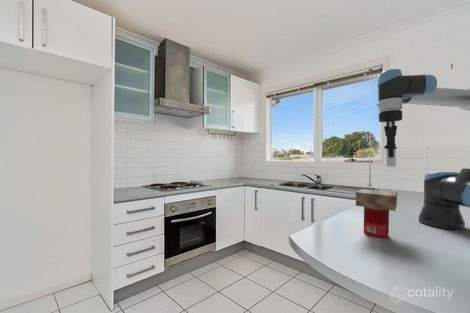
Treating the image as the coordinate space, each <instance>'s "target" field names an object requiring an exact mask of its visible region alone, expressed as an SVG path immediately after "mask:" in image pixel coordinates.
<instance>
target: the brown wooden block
mask: <svg viewBox="0 0 470 313" xmlns="http://www.w3.org/2000/svg"><path fill="white" fill-rule="evenodd" d="M397 203H398V192H394V191H387V190H386V191H385V190H376V189H365V188H361V189H359V190H358V191H355V206H358V207H363V208H364V207H370V208H378V209H385V210H389V211H394V212H396V208H397V205H398V204H397Z"/></svg>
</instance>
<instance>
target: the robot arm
mask: <svg viewBox="0 0 470 313" xmlns="http://www.w3.org/2000/svg"><path fill="white" fill-rule="evenodd" d="M437 86H438V80H437V77H436V76H435V75H433V74H424V73H423V74H415V75H414V74H413V75H412V74H411V75H403V72H402V70H401V69H398V68H391V69H386V70H384V71H382V72H380V73H379V74H378V79H377V89H378V90H377V94H378V95H377V96H378V103H377V104H376V107H378V112H379V113H378V122H379V123H385V125H384V134H385V137H386V145H384V150H385V151H386V167H390V168H392V167H393V168H395V167H397V161H396V160H397V159H396V158H397V156H396V150H397V146H396V145H397V144H396V136H397V130H398V126H397V125H396V122H401V121H402V120H403V110H402V109H403V105H404V104H406V105H419V106H420V105H421V106H422V105H423V106H435V107H437V106H439V107H450V108H451V107H452V108H459V109H461V110H463V111H470V87H467V88H465V89H463V88H449V87H448V88H446V87H437ZM424 174H425V175H424V178H423V206H422V208H421V210H420V212H419V215H418V219H417V220H418V222H419V223H422V225H426V226H430V227H434V228H440V229H446V230H456V231H457V230H458V231H461V230H465V229H466V223H465V220H464V217H463V215H462V213H461V210H460V206H462V207H466V208H469V209H470V164H469V166H465V167H462V168H461V169H460V171H458V172H456V171H435V172H433V171H432V172H427V173H424Z"/></svg>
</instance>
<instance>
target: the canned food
mask: <svg viewBox="0 0 470 313" xmlns="http://www.w3.org/2000/svg"><path fill="white" fill-rule="evenodd" d="M389 230H390V210H385V209H378V208H370V207H363V233H364V234H365V235H367V236H369V237H372V238H377V239H386V238H388V237H389V232H390V231H389Z"/></svg>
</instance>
